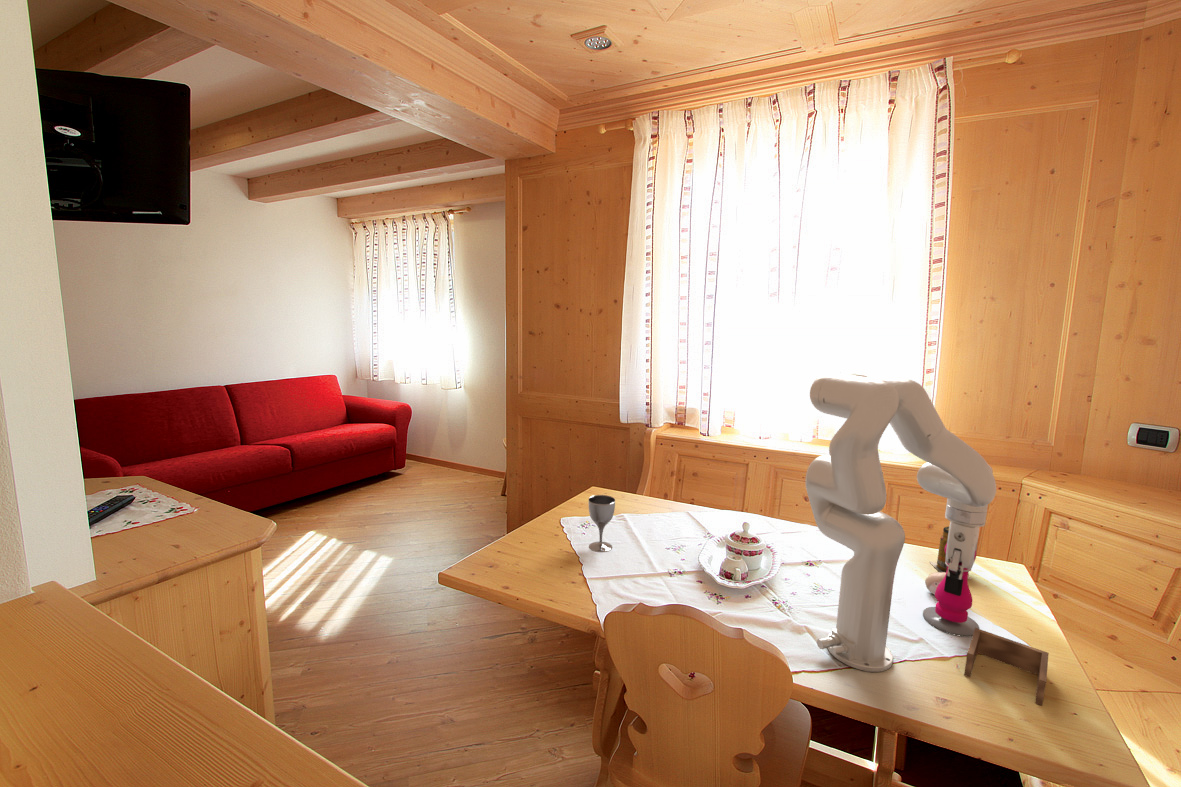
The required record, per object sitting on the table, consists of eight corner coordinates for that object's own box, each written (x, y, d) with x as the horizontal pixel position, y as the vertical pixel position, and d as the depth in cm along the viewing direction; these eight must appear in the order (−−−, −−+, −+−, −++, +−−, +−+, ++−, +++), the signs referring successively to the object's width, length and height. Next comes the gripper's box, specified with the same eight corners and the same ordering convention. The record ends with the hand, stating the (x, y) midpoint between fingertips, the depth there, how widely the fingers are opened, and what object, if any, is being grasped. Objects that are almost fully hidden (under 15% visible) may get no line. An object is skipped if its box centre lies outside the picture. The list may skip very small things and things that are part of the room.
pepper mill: (960, 609, 126) (972, 530, 123) (975, 626, 119) (989, 543, 116) (927, 604, 128) (938, 526, 124) (940, 621, 121) (952, 539, 117)
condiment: (956, 565, 152) (962, 526, 150) (972, 579, 144) (978, 538, 142) (929, 562, 154) (934, 523, 152) (942, 576, 145) (948, 535, 143)
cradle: (963, 675, 106) (967, 652, 105) (972, 648, 114) (975, 627, 113) (1042, 706, 98) (1046, 681, 97) (1044, 675, 106) (1048, 652, 105)
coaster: (955, 640, 117) (955, 637, 117) (911, 612, 127) (912, 610, 127) (990, 632, 120) (991, 629, 120) (945, 606, 131) (946, 603, 130)
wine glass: (586, 541, 162) (587, 495, 160) (611, 540, 163) (613, 494, 161) (588, 553, 155) (590, 504, 152) (615, 552, 155) (617, 504, 153)
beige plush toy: (943, 603, 132) (947, 574, 130) (919, 591, 138) (922, 562, 136) (960, 598, 134) (964, 569, 133) (936, 586, 140) (940, 558, 139)
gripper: (980, 530, 111) (968, 609, 114) (990, 509, 123) (979, 581, 126) (938, 520, 116) (928, 596, 119) (952, 500, 128) (942, 570, 131)
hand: (954, 587), depth 122 cm, fingers closed on pepper mill, 5 cm apart
